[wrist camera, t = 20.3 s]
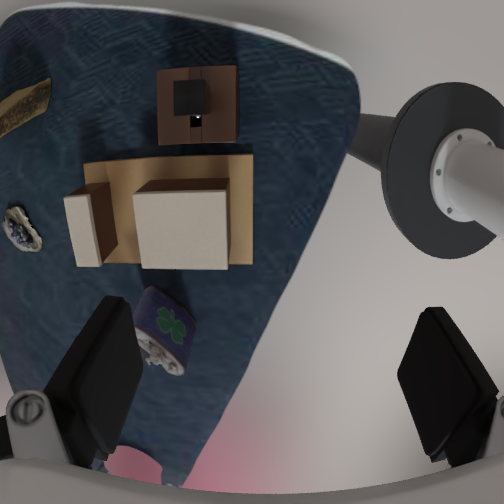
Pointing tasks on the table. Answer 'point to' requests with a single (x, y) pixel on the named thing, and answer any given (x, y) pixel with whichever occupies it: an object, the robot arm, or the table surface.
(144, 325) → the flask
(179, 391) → the table surface
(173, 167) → the board
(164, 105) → the knife block
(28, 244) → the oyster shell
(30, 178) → the table surface
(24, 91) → the rock
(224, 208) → the cake loaf
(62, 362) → the robot arm
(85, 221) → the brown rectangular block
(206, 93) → the knife
